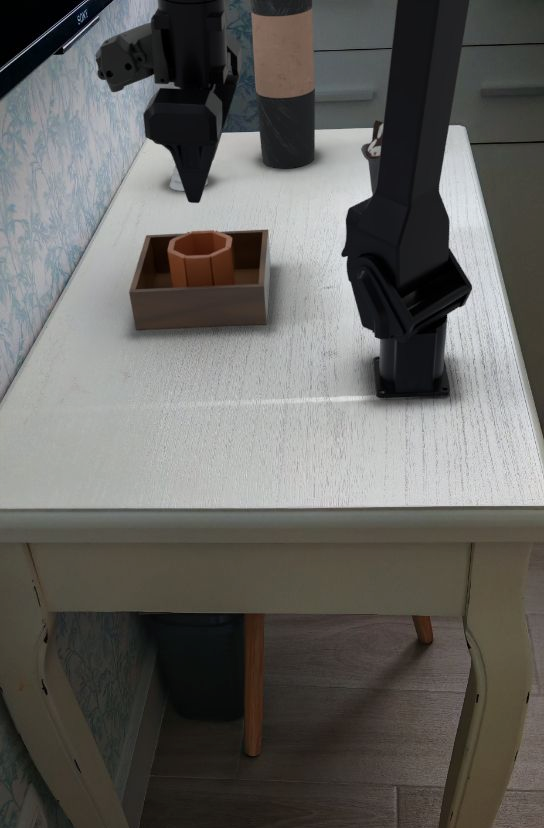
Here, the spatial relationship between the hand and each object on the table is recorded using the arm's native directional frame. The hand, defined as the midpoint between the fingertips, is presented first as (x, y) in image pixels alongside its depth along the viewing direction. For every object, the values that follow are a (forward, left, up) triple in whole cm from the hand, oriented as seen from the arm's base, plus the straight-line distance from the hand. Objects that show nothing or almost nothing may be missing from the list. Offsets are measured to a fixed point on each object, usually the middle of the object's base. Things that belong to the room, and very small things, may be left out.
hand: (201, 180), depth 89 cm
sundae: (+11, -19, -12) cm, 25 cm away
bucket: (-1, +1, -11) cm, 11 cm away
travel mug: (+39, -7, -12) cm, 41 cm away
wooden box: (-1, +1, -12) cm, 12 cm away
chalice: (+32, +6, -12) cm, 35 cm away
